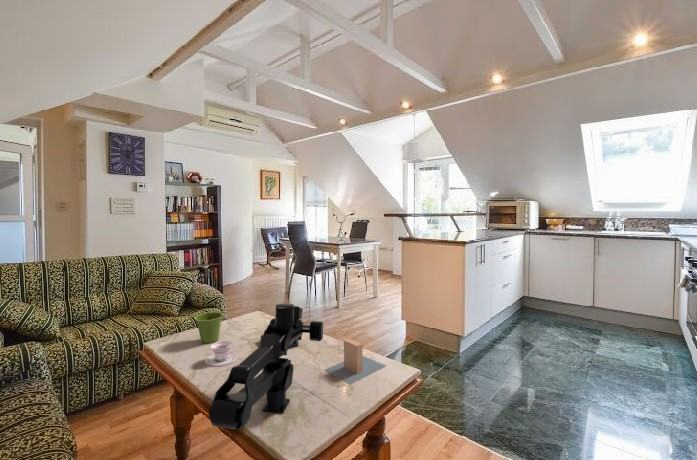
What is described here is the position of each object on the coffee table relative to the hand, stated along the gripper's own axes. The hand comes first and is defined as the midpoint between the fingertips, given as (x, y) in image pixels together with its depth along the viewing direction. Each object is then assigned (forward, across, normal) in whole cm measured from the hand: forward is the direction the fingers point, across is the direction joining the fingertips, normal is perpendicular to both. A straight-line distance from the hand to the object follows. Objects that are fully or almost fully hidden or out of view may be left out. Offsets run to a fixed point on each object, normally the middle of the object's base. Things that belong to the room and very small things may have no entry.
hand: (304, 323), depth 126 cm
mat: (+4, -18, +16) cm, 25 cm away
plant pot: (+17, +51, +15) cm, 56 cm away
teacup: (+1, +35, +17) cm, 39 cm away
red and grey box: (+20, +19, +15) cm, 31 cm away
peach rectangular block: (+3, -18, +16) cm, 24 cm away
